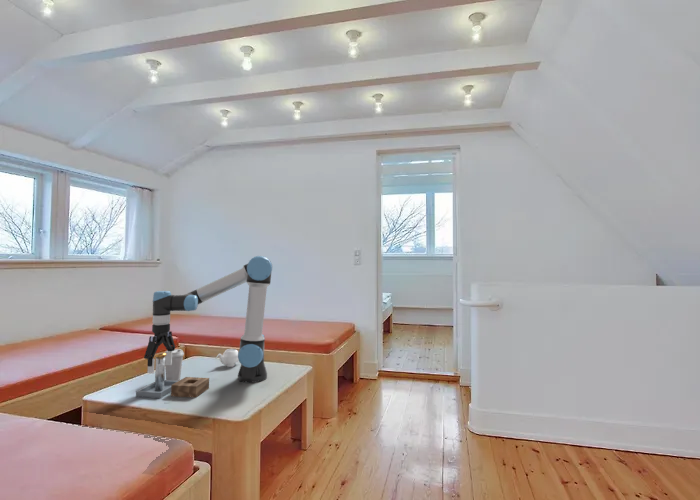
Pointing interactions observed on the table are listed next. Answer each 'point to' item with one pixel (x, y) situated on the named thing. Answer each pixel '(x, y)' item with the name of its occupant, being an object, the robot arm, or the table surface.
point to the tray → (151, 393)
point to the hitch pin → (160, 371)
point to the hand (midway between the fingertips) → (160, 368)
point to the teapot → (229, 357)
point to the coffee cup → (174, 366)
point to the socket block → (190, 387)
